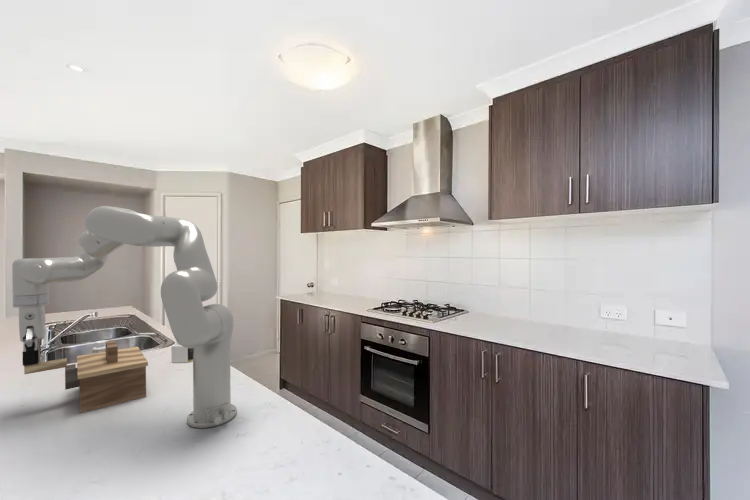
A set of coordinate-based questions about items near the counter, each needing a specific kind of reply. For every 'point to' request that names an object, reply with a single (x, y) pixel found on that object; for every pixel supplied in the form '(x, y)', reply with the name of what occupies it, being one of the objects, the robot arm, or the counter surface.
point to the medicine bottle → (181, 353)
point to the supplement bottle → (100, 346)
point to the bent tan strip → (45, 364)
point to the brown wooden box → (107, 387)
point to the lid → (110, 361)
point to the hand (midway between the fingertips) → (32, 360)
